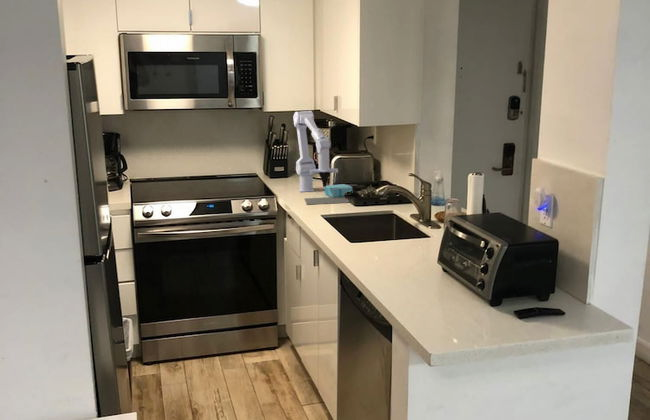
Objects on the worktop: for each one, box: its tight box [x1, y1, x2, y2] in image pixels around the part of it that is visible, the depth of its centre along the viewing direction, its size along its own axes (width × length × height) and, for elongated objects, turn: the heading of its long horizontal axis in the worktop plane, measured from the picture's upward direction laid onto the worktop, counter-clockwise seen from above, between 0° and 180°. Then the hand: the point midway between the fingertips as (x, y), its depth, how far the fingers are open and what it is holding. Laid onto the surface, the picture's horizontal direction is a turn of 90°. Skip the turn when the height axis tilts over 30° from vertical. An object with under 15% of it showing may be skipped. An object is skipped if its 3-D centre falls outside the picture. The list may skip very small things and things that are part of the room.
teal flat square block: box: [324, 183, 353, 197], centre depth 360 cm, size 12×4×12 cm
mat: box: [304, 196, 351, 206], centre depth 347 cm, size 14×22×1 cm, turn 97°
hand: (324, 186), depth 354 cm, fingers closed
